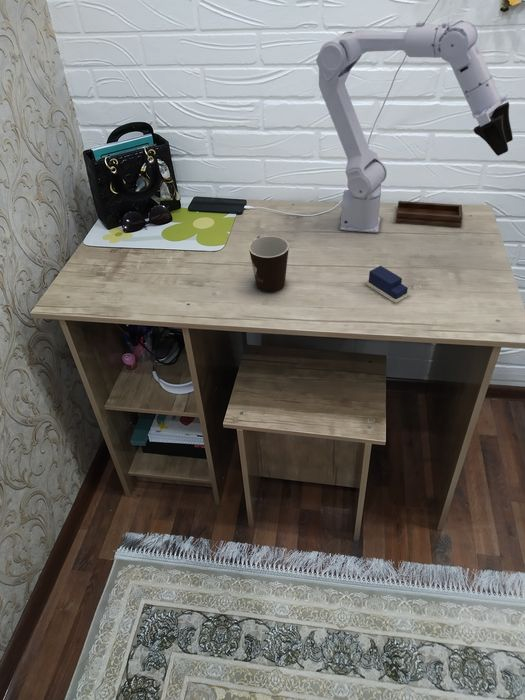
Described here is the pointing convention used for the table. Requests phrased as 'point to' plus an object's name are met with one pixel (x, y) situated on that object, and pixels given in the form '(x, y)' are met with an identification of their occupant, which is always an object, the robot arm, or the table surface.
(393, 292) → the dark blue stepped block
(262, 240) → the coffee mug
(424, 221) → the wooden serving tray
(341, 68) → the robot arm
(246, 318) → the table surface
